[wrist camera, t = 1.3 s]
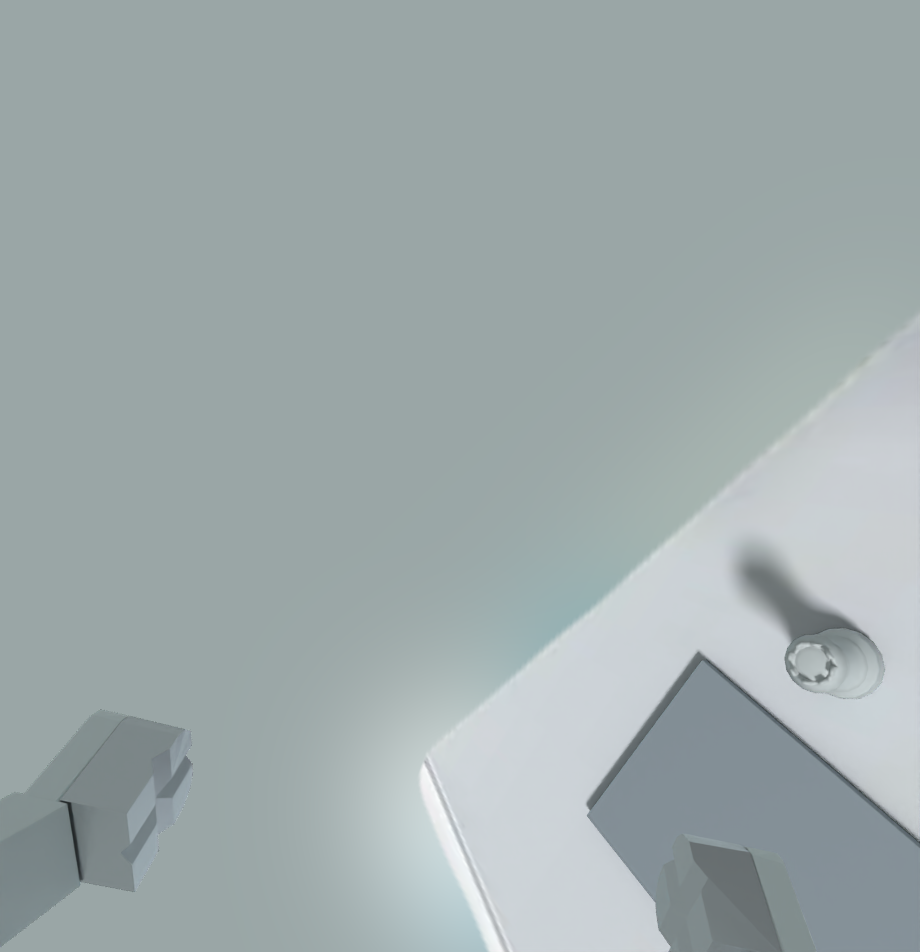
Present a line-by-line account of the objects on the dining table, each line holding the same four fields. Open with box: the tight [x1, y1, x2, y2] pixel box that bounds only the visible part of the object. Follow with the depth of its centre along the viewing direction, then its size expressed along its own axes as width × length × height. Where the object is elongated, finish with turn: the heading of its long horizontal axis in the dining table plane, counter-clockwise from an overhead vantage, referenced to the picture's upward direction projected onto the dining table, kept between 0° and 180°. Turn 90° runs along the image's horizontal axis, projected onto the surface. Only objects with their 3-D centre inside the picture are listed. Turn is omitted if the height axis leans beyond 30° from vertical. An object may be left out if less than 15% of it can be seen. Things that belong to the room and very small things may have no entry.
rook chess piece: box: [785, 628, 885, 699], centre depth 38 cm, size 4×4×8 cm
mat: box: [587, 660, 920, 952], centre depth 42 cm, size 20×16×1 cm
